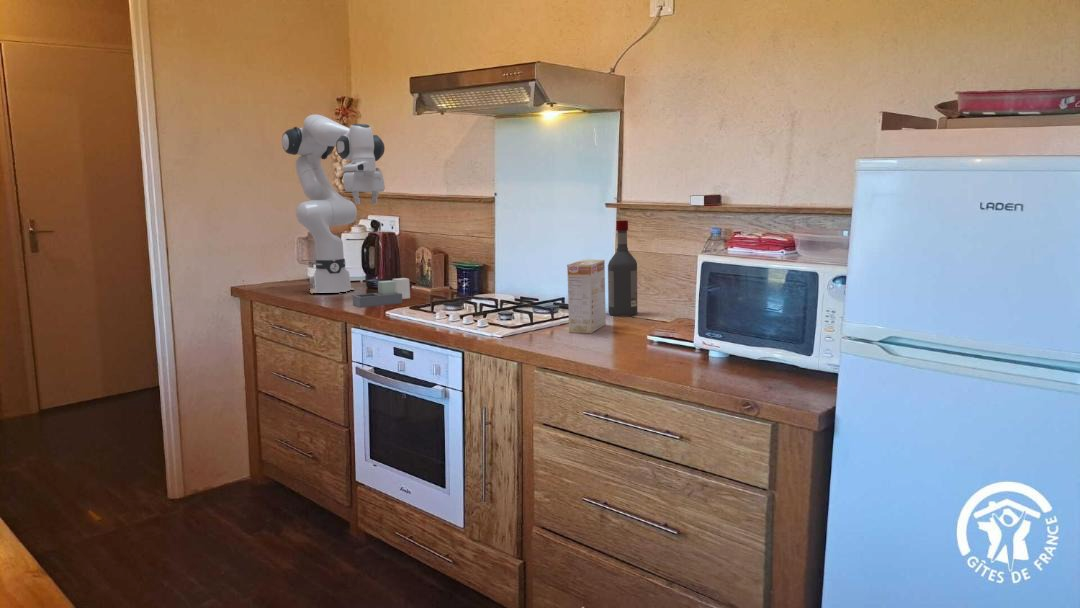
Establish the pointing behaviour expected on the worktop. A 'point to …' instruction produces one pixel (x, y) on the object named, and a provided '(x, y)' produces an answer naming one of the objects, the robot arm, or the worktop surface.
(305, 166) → the robot arm
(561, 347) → the worktop surface
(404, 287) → the ivory plug
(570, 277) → the coffeecake box
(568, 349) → the worktop surface
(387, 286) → the sage plug
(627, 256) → the liquor
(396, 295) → the slot rack
